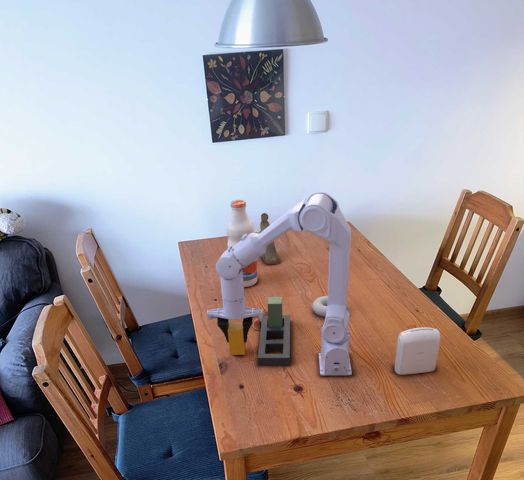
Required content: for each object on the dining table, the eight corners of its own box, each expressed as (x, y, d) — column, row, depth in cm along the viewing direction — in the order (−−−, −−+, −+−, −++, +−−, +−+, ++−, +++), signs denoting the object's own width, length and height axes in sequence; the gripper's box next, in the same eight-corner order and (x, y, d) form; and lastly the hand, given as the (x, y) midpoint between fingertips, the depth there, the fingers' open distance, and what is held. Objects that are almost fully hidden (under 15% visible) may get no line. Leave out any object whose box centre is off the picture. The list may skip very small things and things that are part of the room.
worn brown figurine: (260, 259, 189) (254, 212, 181) (273, 257, 189) (269, 210, 182) (265, 265, 178) (260, 216, 171) (280, 263, 178) (275, 213, 171)
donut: (310, 318, 146) (343, 320, 144) (310, 308, 144) (344, 310, 142) (314, 302, 154) (345, 303, 152) (314, 293, 152) (346, 294, 150)
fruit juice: (241, 273, 174) (235, 195, 157) (262, 279, 169) (258, 199, 153) (225, 284, 167) (217, 204, 151) (247, 290, 163) (241, 208, 147)
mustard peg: (244, 354, 131) (242, 330, 126) (230, 354, 131) (227, 330, 126) (246, 346, 134) (244, 322, 129) (231, 346, 134) (229, 322, 130)
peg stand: (289, 365, 127) (289, 357, 126) (258, 365, 128) (257, 357, 126) (290, 322, 145) (290, 315, 143) (262, 322, 145) (262, 315, 144)
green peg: (282, 333, 140) (281, 303, 134) (268, 333, 140) (267, 303, 134) (282, 326, 143) (282, 296, 137) (269, 326, 144) (268, 296, 138)
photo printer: (397, 376, 121) (402, 336, 114) (391, 366, 125) (397, 326, 118) (436, 372, 122) (445, 332, 115) (430, 362, 125) (438, 322, 118)
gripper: (262, 288, 126) (264, 332, 133) (207, 289, 127) (212, 332, 134) (260, 301, 120) (263, 346, 128) (203, 302, 121) (209, 347, 129)
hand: (237, 340), depth 131 cm, fingers closed on mustard peg, 4 cm apart
